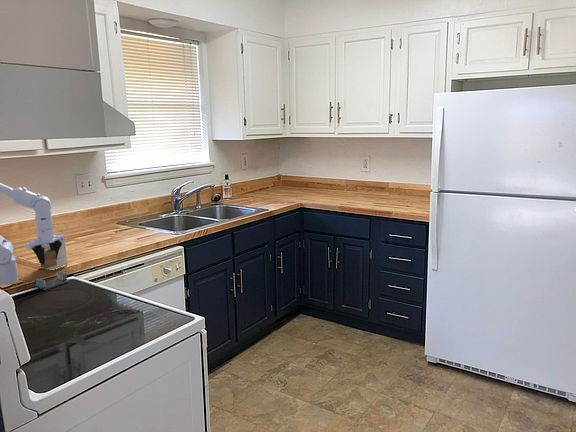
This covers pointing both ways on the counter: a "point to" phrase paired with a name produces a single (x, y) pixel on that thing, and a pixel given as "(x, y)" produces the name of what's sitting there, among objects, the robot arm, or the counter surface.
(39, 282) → the vise jaw
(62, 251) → the supplement box
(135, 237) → the counter surface
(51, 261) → the walnut block
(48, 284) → the vise frame
